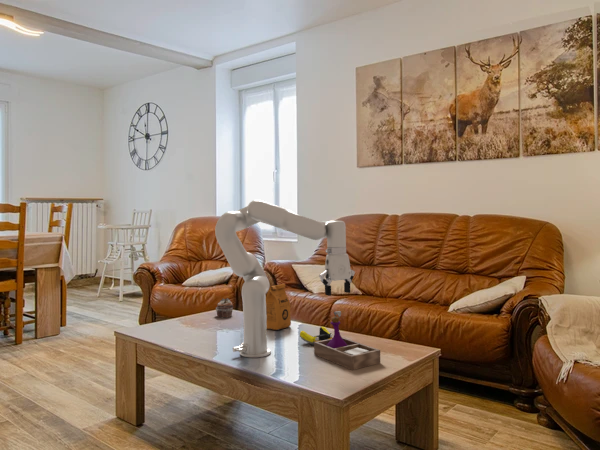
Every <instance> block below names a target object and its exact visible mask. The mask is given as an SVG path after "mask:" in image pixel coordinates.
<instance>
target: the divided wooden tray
mask: <svg viewBox="0 0 600 450" xmlns="http://www.w3.org/2000/svg"><path fill="white" fill-rule="evenodd" d="M341 337H342V336H341ZM342 339H343V340H344V341H345V343H346V344H347V345H348V346H344V347H339V348H331V347H329V346H326V345H327V344H328V343H329V342H330V341H331V339H328V340H323V341H317V342H314V345H313V354H314V356H317V357H320V358H322V359H325V360H327V361H329V362H332V363H334V364H337V365H339V366H341V367H342V368H346V369H348V370H351V371H353V370H358V369H362V368H365V367H369V366H370V367H371V366H374V365H378V364H381V349H378V348H375V347H373V346H370V345H366V344H363V343H360V342H357V341H354V340H353V339H352V340H351V339H348V338H346V337H342ZM354 348H361V349H365V350H368V351H369V352H365V353H361V354H356V355H350V354H347V353H345V352H344V351H347V350H351V349H354Z"/></svg>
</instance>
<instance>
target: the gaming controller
mask: <svg viewBox="0 0 600 450" xmlns="http://www.w3.org/2000/svg"><path fill="white" fill-rule="evenodd" d="M333 336H334V333H331V332H329V330H328V329H327V328H326V327H325V326H320V327H319V334H318V335H314V336H312V335H311V334H308V333H307V332H306V331H304V330H301V331H300V333H299V337H300V339H301V340H303V341H304V342H306V343H308V344H310V345H312V346H314V342H317V341H323V340H328V339H332V338H333Z"/></svg>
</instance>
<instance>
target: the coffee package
mask: <svg viewBox="0 0 600 450" xmlns="http://www.w3.org/2000/svg"><path fill="white" fill-rule="evenodd" d="M285 288H286V284H285V283H282V284H277V285H270V286H269V290H268V292H267V293H266V295H265V298H266V315H267V330H275V331H277V330H282V329H286V328H289V327H291V325H292V317H291V314H292V313H291V310H292V309H291V302H290V300H289V299H290V298H289V297H288V295H287V293H286V289H285Z"/></svg>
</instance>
